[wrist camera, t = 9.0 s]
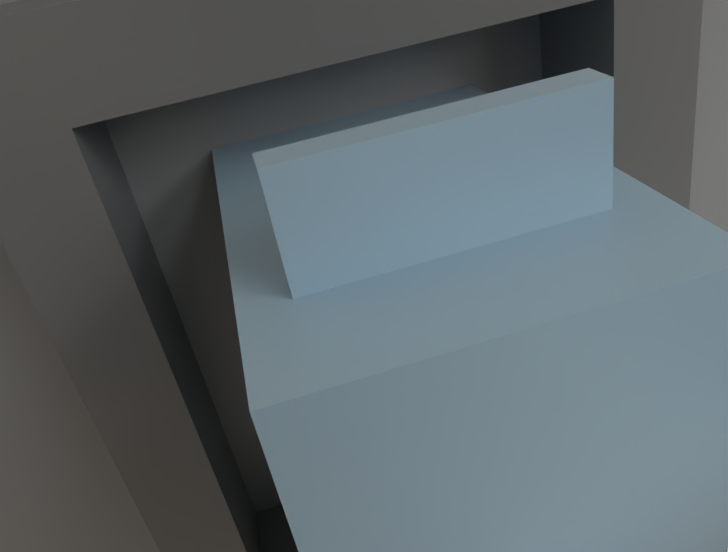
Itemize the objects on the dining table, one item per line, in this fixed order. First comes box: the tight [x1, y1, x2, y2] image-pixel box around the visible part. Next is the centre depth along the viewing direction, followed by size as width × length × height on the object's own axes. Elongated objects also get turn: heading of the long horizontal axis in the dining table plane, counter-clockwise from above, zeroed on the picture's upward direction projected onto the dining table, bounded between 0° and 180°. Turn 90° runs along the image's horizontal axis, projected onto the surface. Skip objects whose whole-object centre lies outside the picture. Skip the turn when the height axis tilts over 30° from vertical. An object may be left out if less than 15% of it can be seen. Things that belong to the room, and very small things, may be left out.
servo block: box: [212, 68, 728, 552], centre depth 9 cm, size 4×8×7 cm, turn 11°
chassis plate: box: [0, 0, 728, 552], centre depth 11 cm, size 16×18×3 cm
